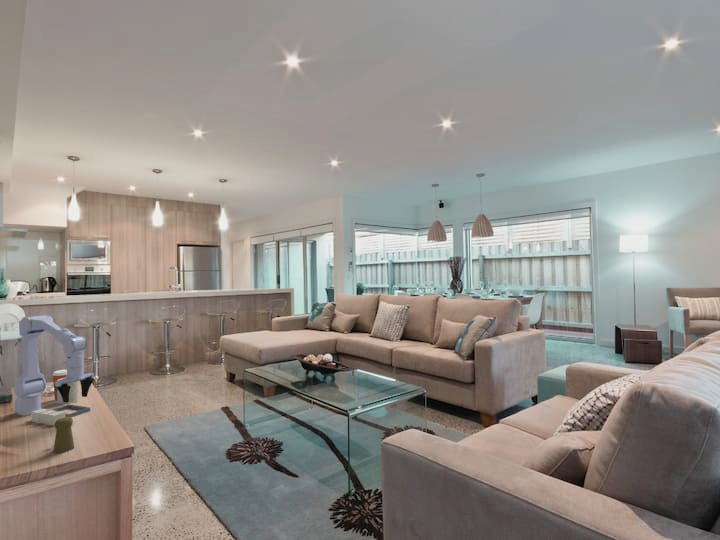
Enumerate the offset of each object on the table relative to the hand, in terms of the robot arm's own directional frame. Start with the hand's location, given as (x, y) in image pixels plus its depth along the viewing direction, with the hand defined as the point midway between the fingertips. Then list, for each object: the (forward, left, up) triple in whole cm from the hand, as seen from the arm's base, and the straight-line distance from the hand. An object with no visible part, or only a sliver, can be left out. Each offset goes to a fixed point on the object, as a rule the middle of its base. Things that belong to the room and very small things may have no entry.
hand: (75, 399), depth 164 cm
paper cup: (-38, +20, -10) cm, 44 cm away
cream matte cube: (-13, -5, -9) cm, 17 cm away
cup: (-28, +16, -10) cm, 34 cm away
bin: (-11, +5, -10) cm, 16 cm away
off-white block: (-3, -5, -9) cm, 11 cm away
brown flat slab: (-9, -5, -10) cm, 15 cm away
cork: (+20, -18, -10) cm, 29 cm away
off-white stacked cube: (-8, -5, -9) cm, 13 cm away
